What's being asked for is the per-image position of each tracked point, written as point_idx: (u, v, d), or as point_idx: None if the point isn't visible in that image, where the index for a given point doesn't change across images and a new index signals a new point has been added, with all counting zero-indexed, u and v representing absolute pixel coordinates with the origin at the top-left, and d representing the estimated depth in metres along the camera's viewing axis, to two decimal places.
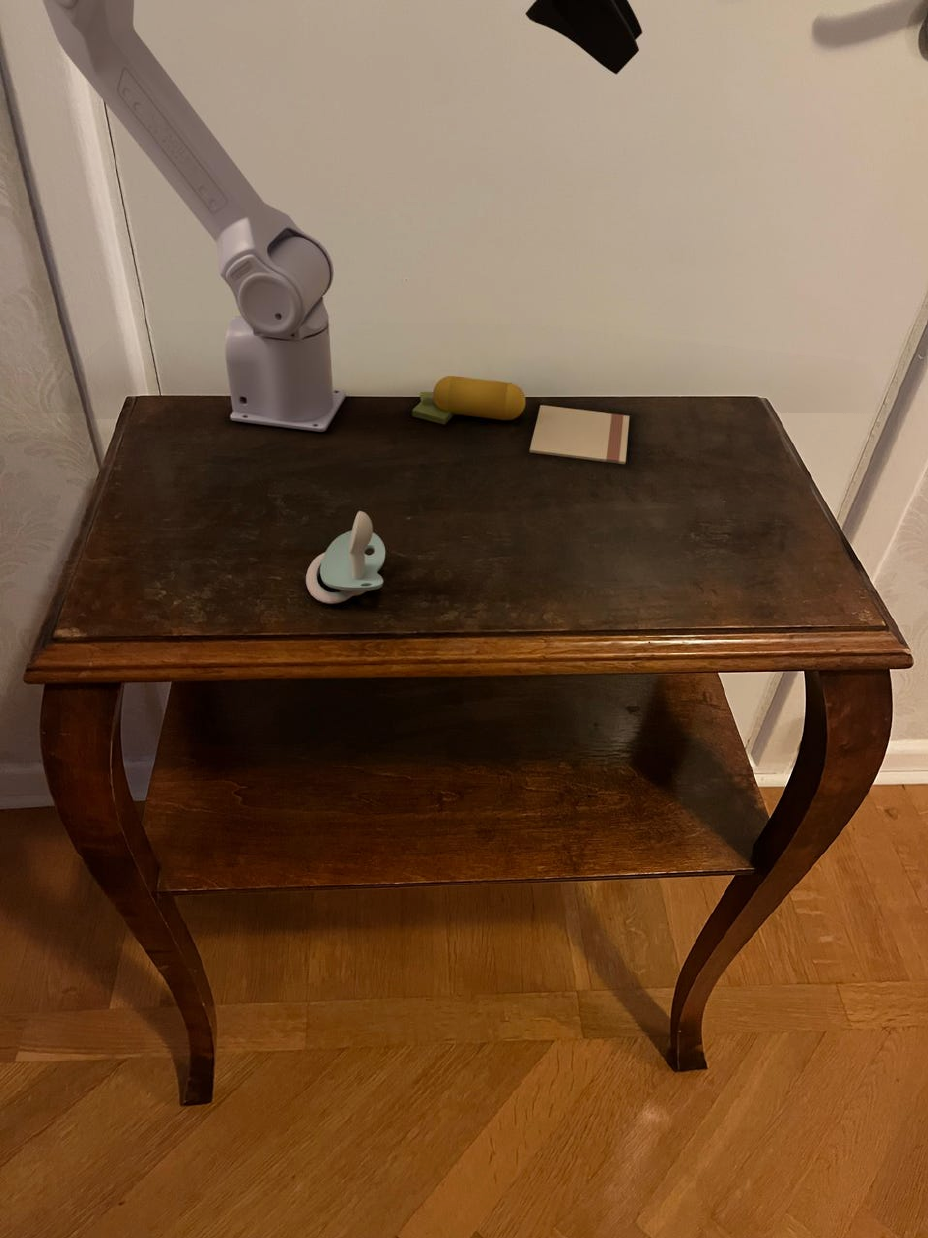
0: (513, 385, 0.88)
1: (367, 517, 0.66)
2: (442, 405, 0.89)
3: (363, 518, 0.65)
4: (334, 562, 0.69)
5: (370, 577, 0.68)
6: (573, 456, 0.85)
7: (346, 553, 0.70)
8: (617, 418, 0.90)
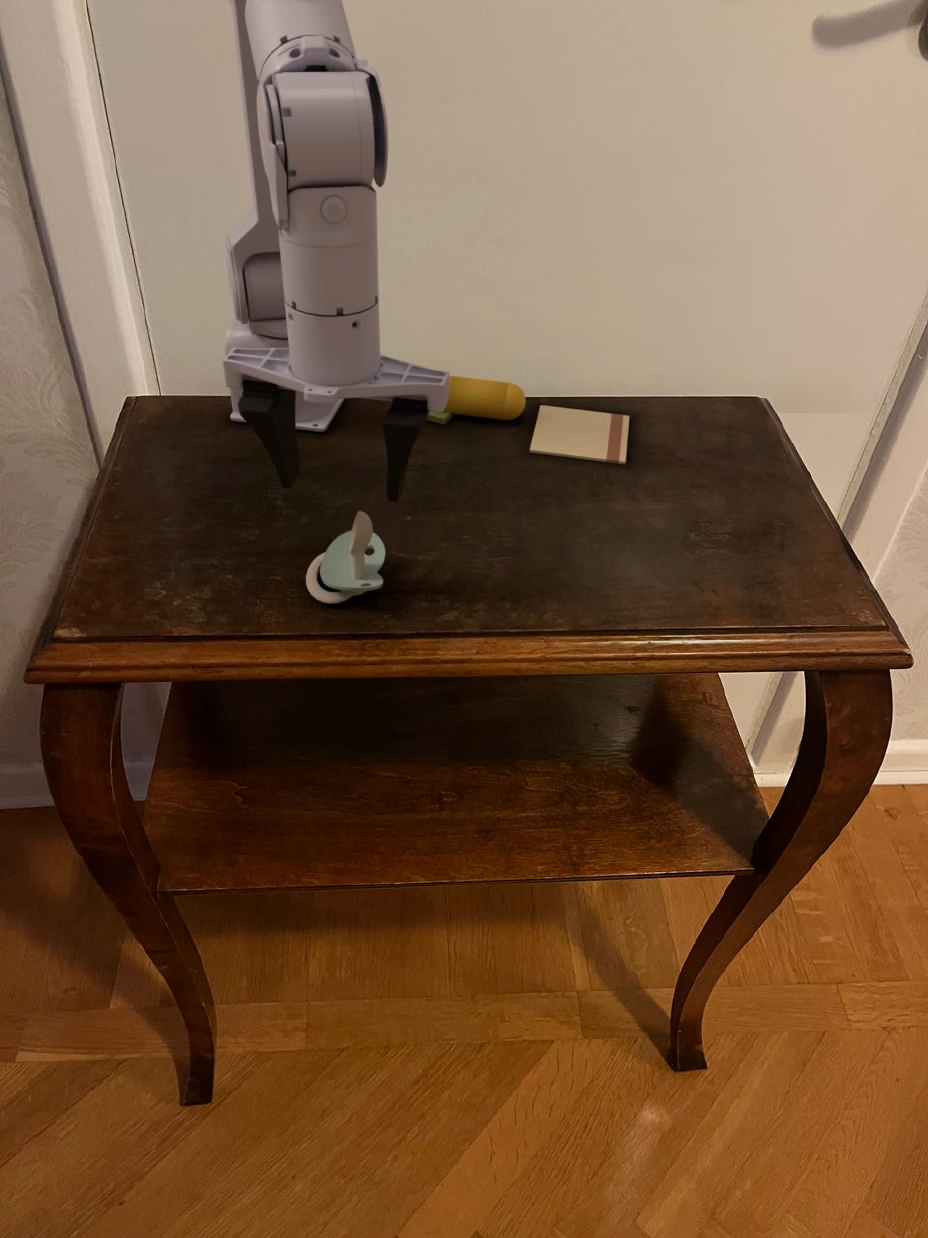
0: (513, 385, 0.88)
1: (367, 517, 0.66)
2: None
3: (363, 518, 0.65)
4: (334, 562, 0.69)
5: (370, 577, 0.68)
6: (573, 456, 0.85)
7: (346, 553, 0.70)
8: (617, 418, 0.90)
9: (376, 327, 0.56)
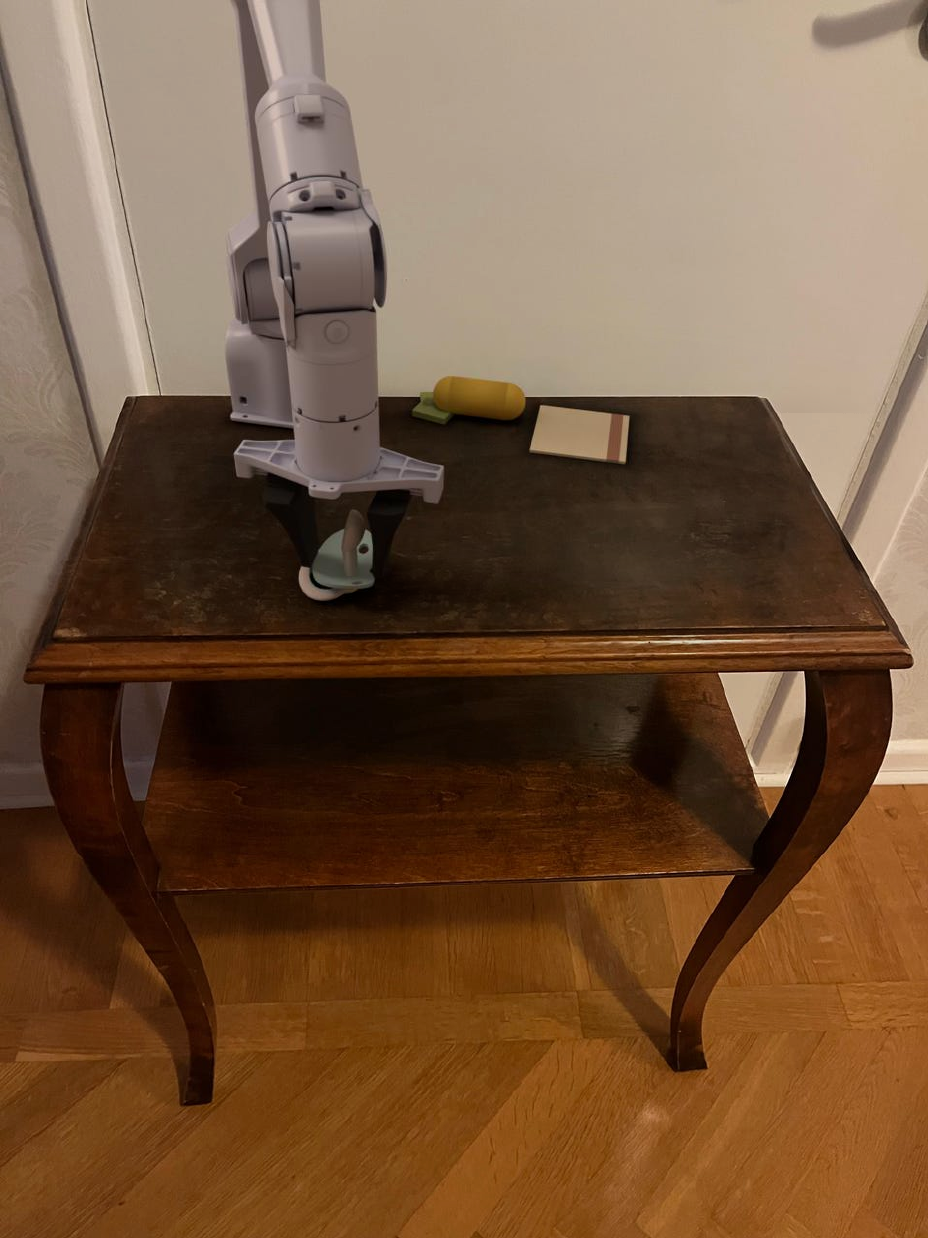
0: (513, 385, 0.88)
1: (359, 515, 0.66)
2: (442, 405, 0.89)
3: (355, 516, 0.66)
4: (327, 559, 0.70)
5: (362, 575, 0.69)
6: (573, 456, 0.85)
7: (340, 551, 0.70)
8: (617, 418, 0.90)
9: (375, 428, 0.60)
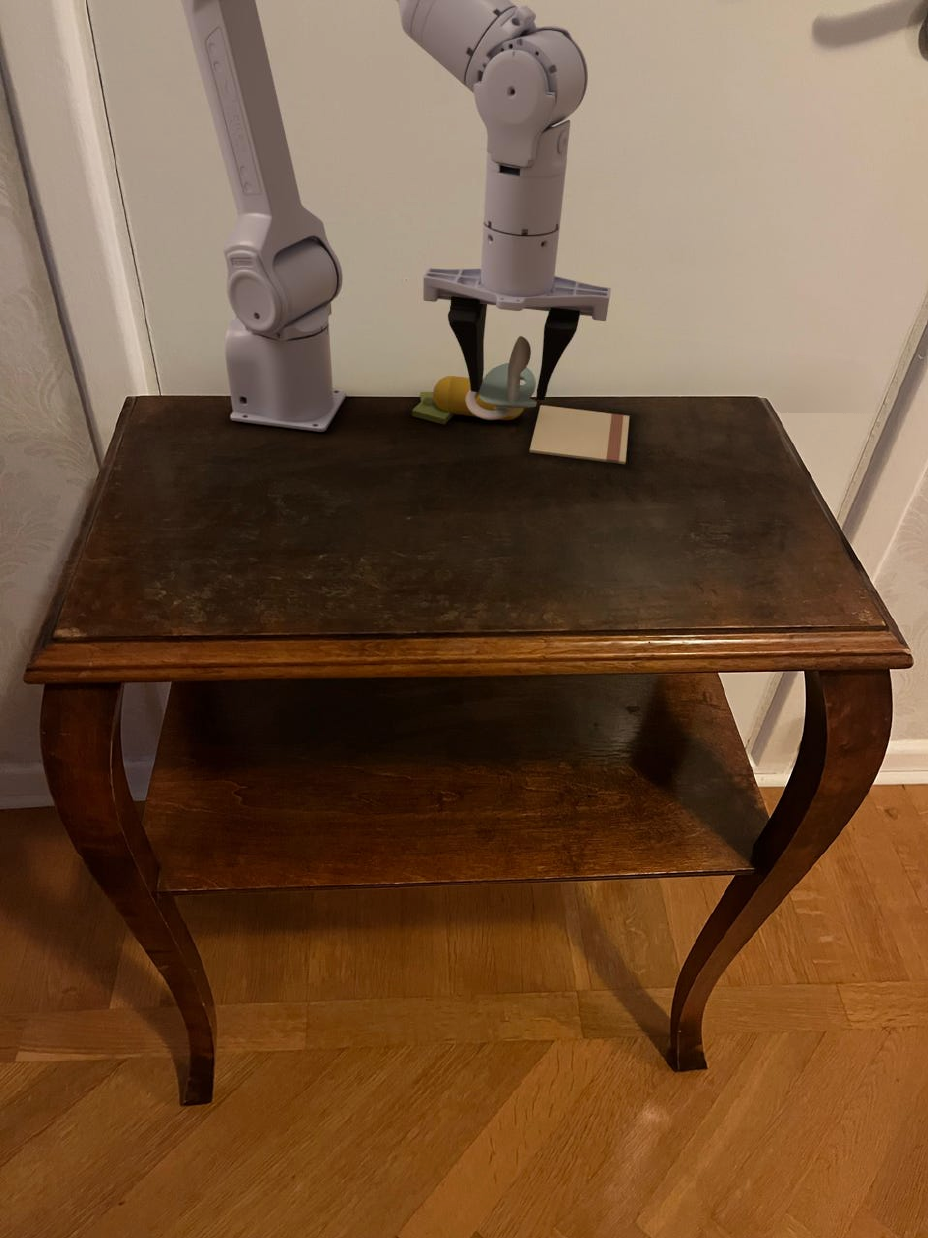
0: None
1: (527, 341, 0.74)
2: (442, 405, 0.89)
3: (524, 340, 0.73)
4: (490, 388, 0.77)
5: (524, 400, 0.76)
6: (573, 456, 0.85)
7: (500, 382, 0.78)
8: (617, 418, 0.90)
9: (556, 248, 0.68)
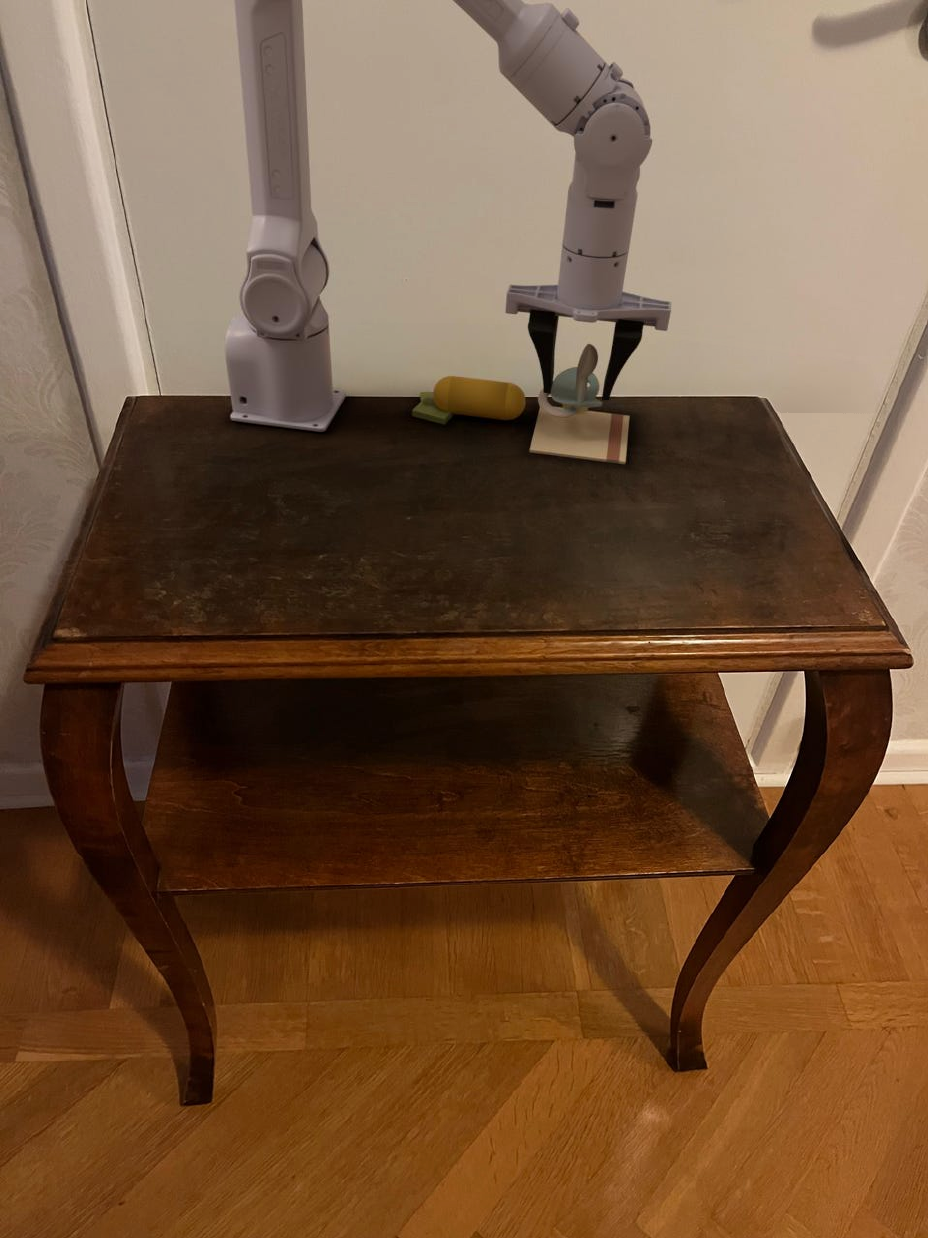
0: (513, 385, 0.88)
1: (595, 348, 0.84)
2: (442, 405, 0.89)
3: (593, 347, 0.83)
4: (560, 390, 0.87)
5: (590, 400, 0.86)
6: (573, 456, 0.85)
7: (568, 384, 0.88)
8: (617, 418, 0.90)
9: (625, 267, 0.78)
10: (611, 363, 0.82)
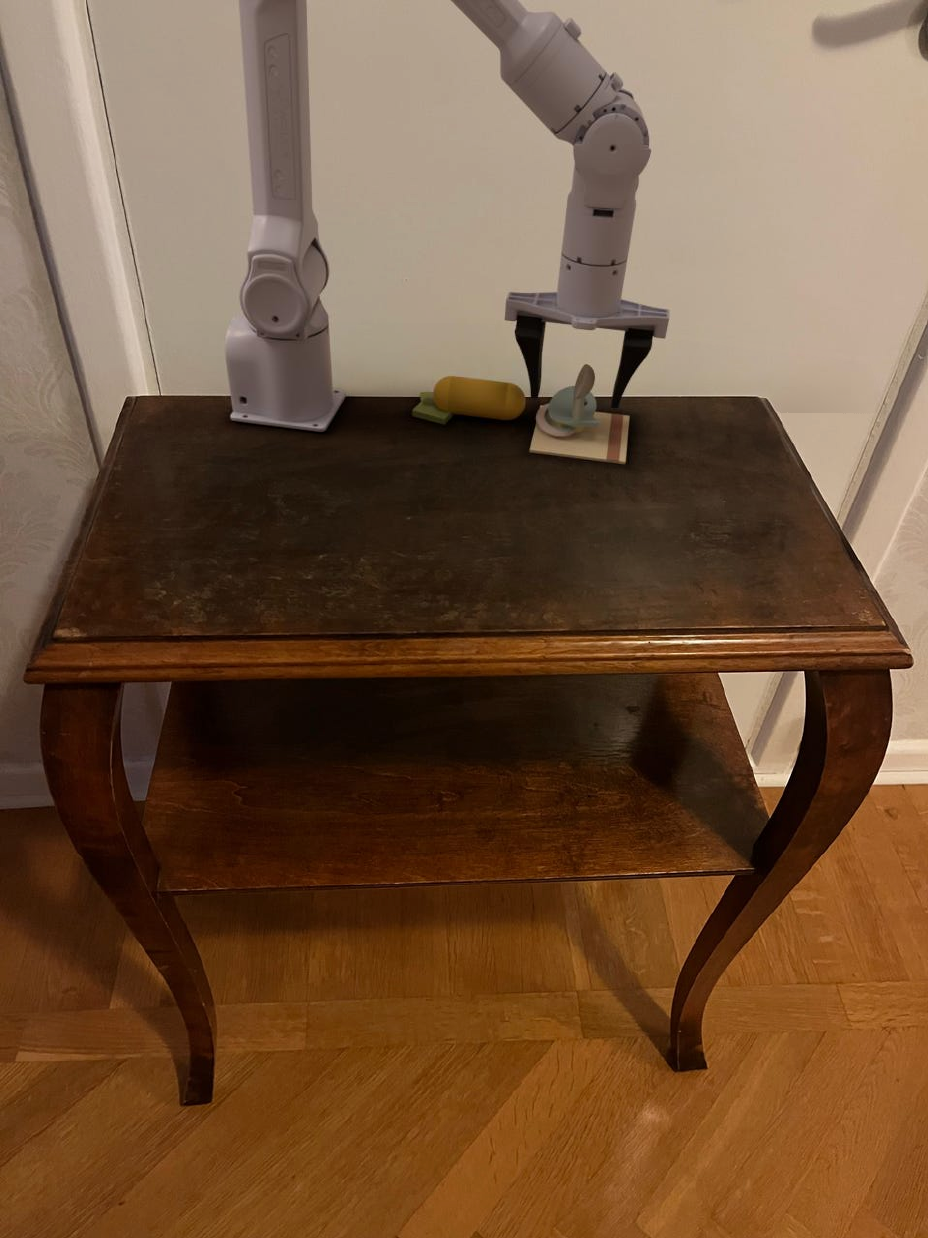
0: (513, 385, 0.88)
1: (592, 369, 0.85)
2: (442, 405, 0.89)
3: (590, 368, 0.85)
4: (557, 409, 0.89)
5: (587, 419, 0.88)
6: (573, 456, 0.85)
7: (565, 403, 0.89)
8: (617, 418, 0.90)
9: (624, 275, 0.78)
10: (621, 371, 0.82)
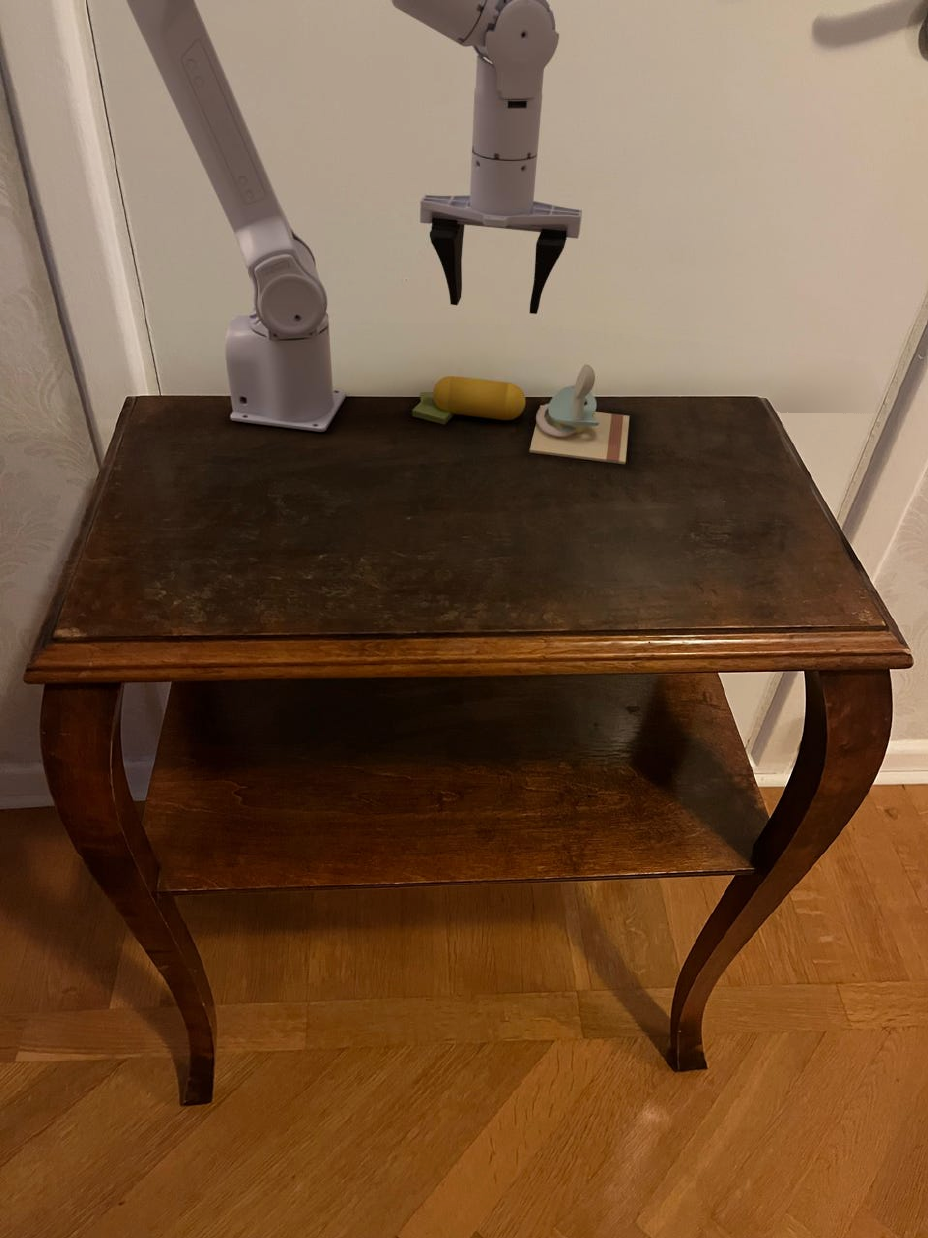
0: (513, 385, 0.88)
1: (592, 368, 0.85)
2: (442, 405, 0.89)
3: (590, 368, 0.85)
4: (557, 409, 0.89)
5: (587, 419, 0.88)
6: (573, 456, 0.85)
7: (565, 403, 0.89)
8: (617, 418, 0.90)
9: (534, 173, 0.79)
10: (536, 273, 0.83)
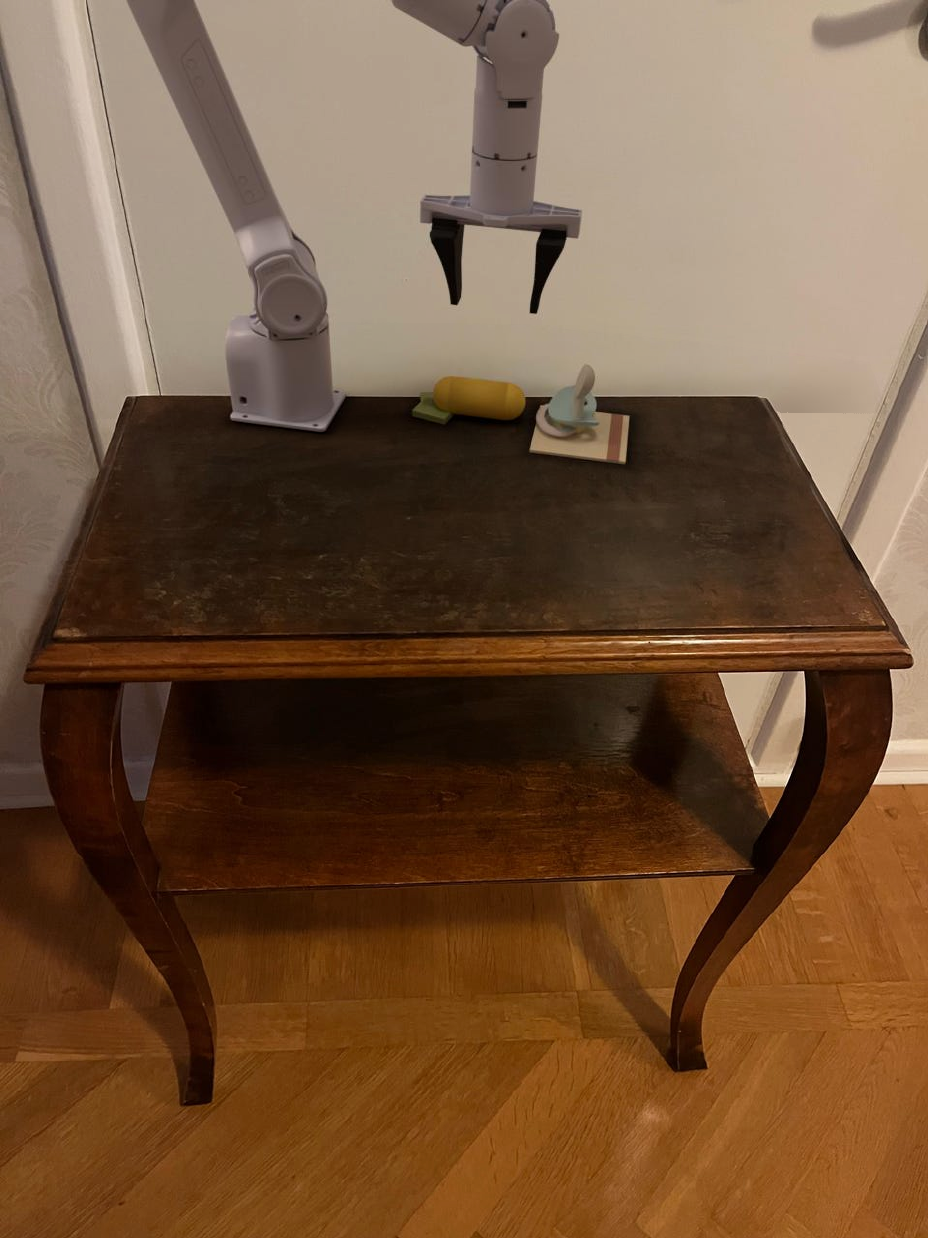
0: (513, 385, 0.88)
1: (592, 368, 0.85)
2: (442, 405, 0.89)
3: (590, 368, 0.85)
4: (557, 409, 0.89)
5: (587, 419, 0.88)
6: (573, 456, 0.85)
7: (565, 403, 0.89)
8: (617, 418, 0.90)
9: (534, 173, 0.79)
10: (536, 273, 0.83)
